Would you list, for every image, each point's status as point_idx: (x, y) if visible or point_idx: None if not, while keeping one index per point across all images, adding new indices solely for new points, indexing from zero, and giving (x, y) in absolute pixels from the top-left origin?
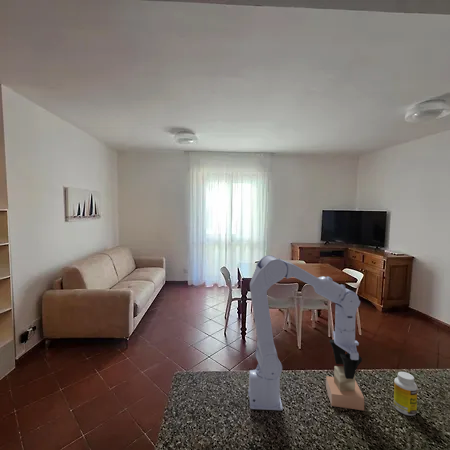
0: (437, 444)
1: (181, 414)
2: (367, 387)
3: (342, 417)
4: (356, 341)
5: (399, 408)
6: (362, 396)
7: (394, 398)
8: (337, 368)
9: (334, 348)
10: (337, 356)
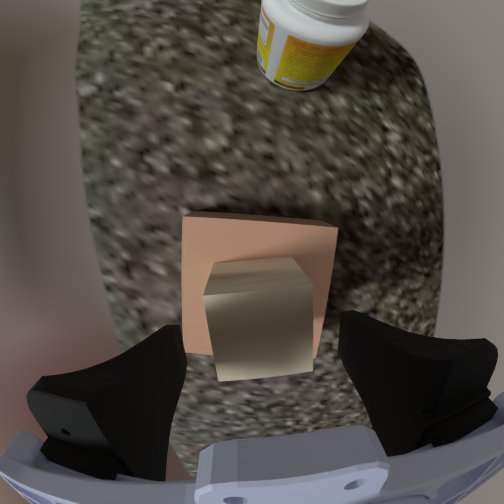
0: (420, 75)
1: None
2: (163, 145)
3: (358, 310)
4: (270, 494)
5: (320, 83)
6: (326, 231)
7: (296, 78)
8: (244, 371)
9: (163, 454)
10: (172, 391)
